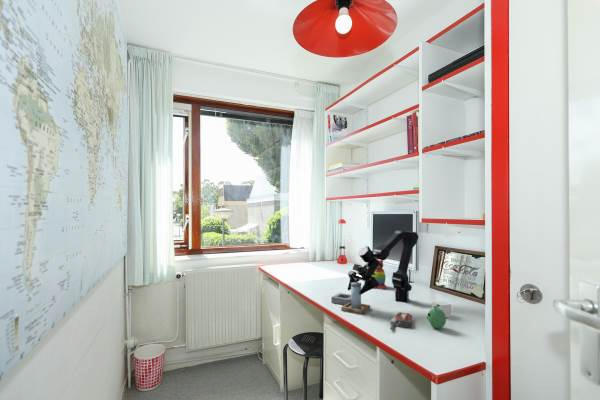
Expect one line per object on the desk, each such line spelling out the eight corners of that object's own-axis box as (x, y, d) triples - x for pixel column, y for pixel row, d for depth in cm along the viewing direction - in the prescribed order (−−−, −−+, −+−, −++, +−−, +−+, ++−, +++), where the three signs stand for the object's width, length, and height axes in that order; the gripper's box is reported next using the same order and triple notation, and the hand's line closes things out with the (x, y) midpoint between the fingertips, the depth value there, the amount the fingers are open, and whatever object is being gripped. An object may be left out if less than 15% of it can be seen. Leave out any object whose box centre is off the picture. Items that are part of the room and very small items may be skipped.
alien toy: (429, 323, 144) (429, 301, 144) (448, 327, 139) (447, 304, 139) (424, 328, 138) (424, 304, 138) (443, 332, 133) (443, 308, 134)
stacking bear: (369, 288, 207) (369, 260, 208) (370, 284, 217) (370, 258, 217) (386, 289, 204) (386, 261, 205) (386, 285, 214) (386, 259, 214)
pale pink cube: (451, 317, 153) (451, 304, 153) (440, 318, 151) (440, 305, 151) (442, 313, 159) (442, 300, 159) (432, 314, 157) (432, 301, 157)
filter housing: (356, 301, 178) (356, 295, 178) (348, 305, 170) (348, 299, 170) (339, 298, 184) (339, 292, 184) (331, 302, 175) (331, 297, 176)
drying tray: (370, 308, 165) (370, 305, 165) (361, 314, 156) (361, 310, 156) (350, 305, 171) (350, 301, 171) (341, 310, 162) (341, 306, 162)
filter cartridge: (361, 306, 165) (361, 282, 166) (361, 309, 160) (361, 284, 161) (350, 306, 166) (350, 281, 167) (350, 309, 161) (350, 284, 162)
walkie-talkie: (392, 317, 153) (388, 332, 134) (392, 308, 153) (388, 321, 134) (412, 319, 150) (411, 335, 131) (412, 310, 150) (410, 324, 131)
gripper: (350, 255, 174) (333, 278, 168) (374, 260, 158) (356, 285, 152) (361, 269, 178) (345, 291, 172) (386, 275, 162) (369, 300, 156)
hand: (353, 292), depth 163 cm, fingers open, 9 cm apart
